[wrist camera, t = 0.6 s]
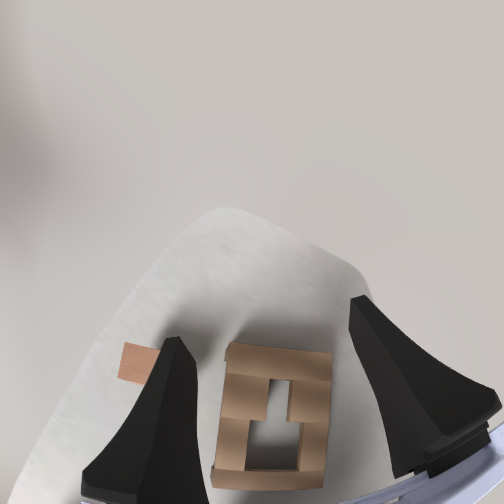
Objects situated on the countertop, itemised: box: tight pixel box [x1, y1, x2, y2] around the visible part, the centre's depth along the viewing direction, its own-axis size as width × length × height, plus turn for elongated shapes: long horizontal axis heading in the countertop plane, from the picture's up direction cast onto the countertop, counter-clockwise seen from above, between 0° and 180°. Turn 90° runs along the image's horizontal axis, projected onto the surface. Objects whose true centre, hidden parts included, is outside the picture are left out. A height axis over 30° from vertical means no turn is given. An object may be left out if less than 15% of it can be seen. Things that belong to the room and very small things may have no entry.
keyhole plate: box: [210, 342, 332, 491], centre depth 23 cm, size 14×10×4 cm
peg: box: [118, 342, 160, 386], centre depth 22 cm, size 4×5×7 cm
